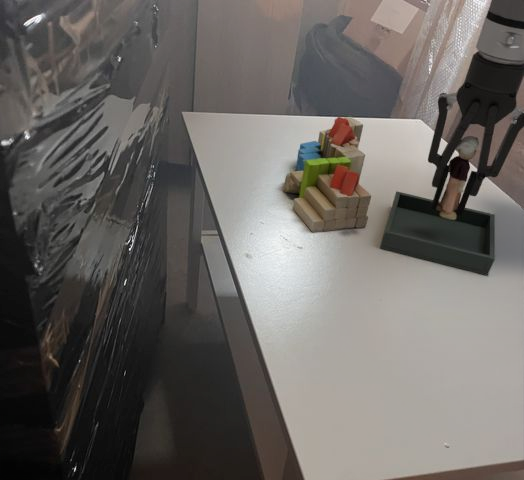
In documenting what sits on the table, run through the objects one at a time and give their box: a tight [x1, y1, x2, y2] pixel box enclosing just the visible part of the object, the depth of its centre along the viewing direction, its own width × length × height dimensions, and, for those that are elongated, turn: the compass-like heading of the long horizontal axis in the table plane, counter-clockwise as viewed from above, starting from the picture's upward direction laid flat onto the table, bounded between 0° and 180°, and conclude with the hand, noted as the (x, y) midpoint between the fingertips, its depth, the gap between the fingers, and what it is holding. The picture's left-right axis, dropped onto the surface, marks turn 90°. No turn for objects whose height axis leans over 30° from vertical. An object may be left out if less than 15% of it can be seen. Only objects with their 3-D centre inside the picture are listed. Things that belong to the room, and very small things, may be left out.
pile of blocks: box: [282, 116, 372, 233], centre depth 107 cm, size 36×15×11 cm, turn 177°
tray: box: [379, 190, 496, 276], centre depth 99 cm, size 18×16×3 cm
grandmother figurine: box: [436, 135, 480, 220], centre depth 92 cm, size 8×4×13 cm, turn 12°
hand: (447, 208), depth 96 cm, fingers closed on grandmother figurine, 3 cm apart
